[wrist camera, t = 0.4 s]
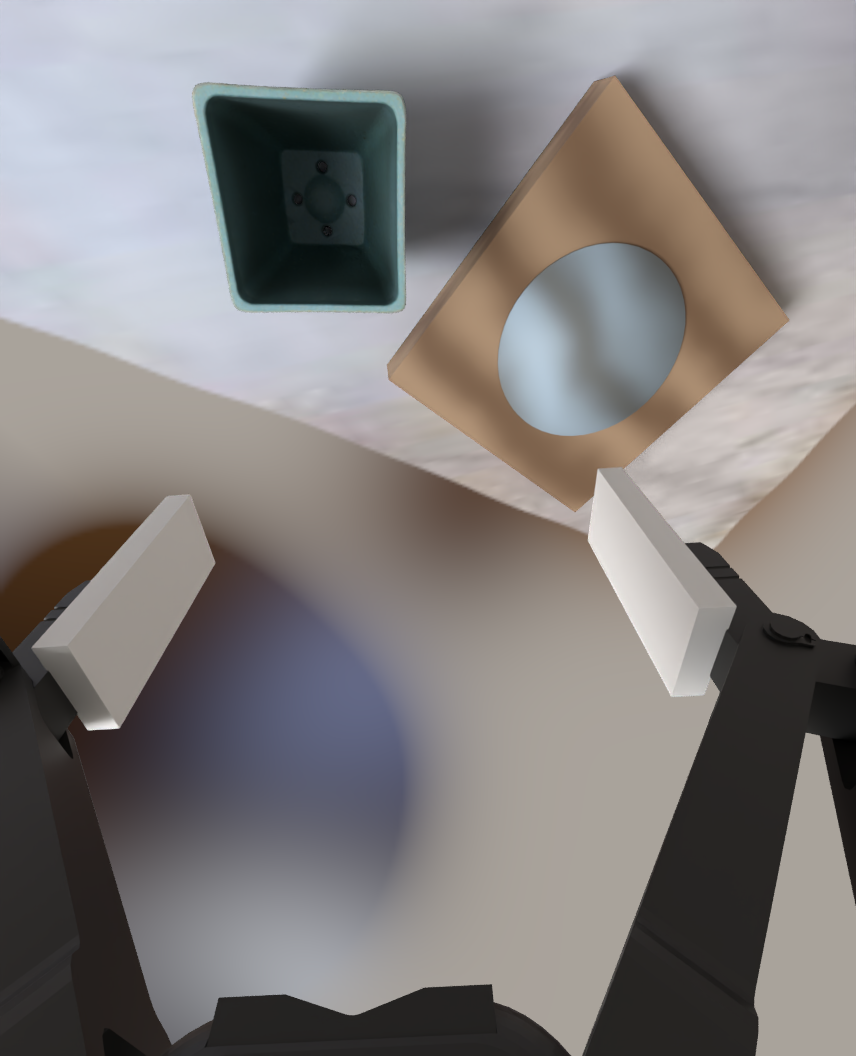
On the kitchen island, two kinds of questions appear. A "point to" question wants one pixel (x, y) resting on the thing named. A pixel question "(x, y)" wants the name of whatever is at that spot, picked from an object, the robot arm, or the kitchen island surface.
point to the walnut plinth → (588, 307)
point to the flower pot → (307, 195)
